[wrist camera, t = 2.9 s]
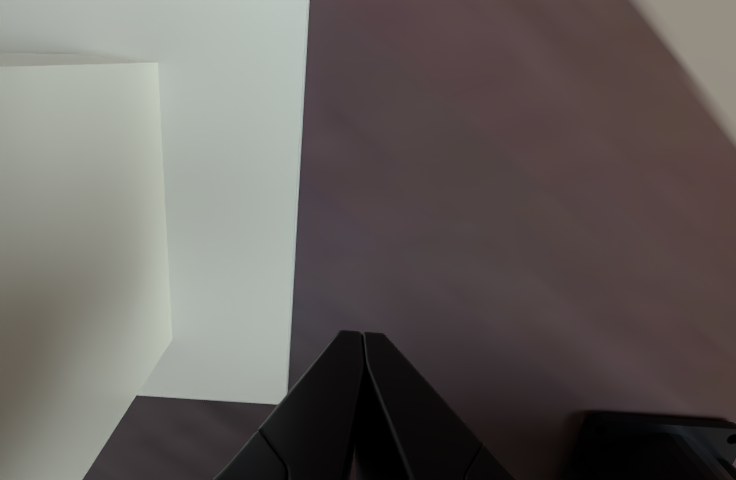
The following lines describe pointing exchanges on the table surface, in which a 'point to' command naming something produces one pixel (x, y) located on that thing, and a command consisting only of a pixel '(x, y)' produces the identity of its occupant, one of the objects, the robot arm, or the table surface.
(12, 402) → the tile
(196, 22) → the mat
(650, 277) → the table surface
